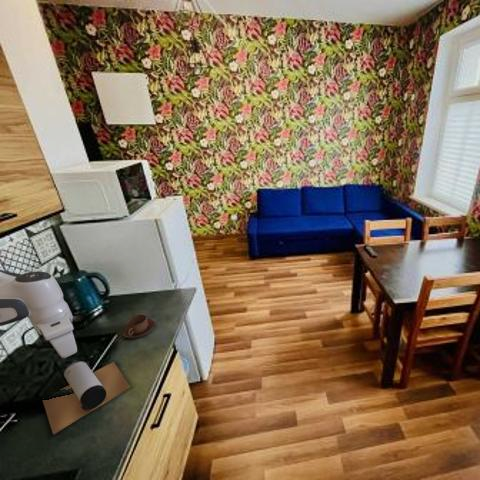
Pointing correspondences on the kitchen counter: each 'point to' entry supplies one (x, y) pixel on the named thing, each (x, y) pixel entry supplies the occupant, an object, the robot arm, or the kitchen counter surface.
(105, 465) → the kitchen counter surface
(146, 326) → the cup and saucer
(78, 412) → the cork mat
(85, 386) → the travel mug
